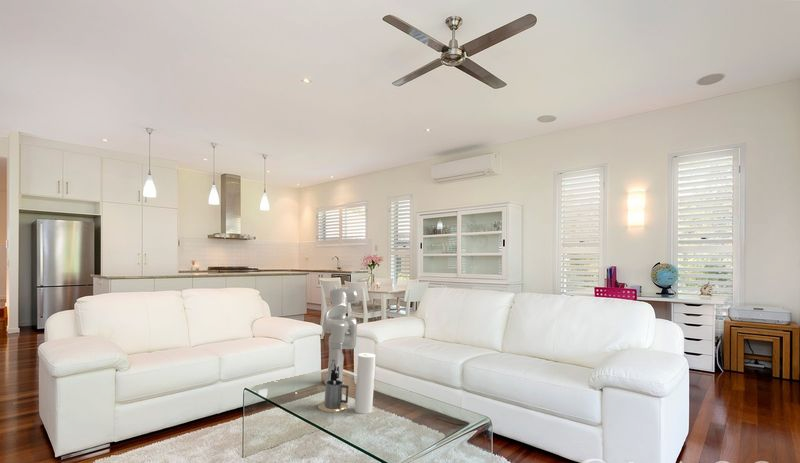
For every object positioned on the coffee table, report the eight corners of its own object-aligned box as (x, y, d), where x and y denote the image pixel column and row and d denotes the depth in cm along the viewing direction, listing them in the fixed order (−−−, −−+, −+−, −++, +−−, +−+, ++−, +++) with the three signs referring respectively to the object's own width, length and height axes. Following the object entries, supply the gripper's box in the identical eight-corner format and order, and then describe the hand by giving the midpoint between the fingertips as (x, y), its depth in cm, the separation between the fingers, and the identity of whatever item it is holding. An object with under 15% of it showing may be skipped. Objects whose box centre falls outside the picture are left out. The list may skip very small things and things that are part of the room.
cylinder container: (369, 414, 222) (373, 357, 223) (352, 412, 223) (356, 355, 225) (373, 408, 231) (377, 353, 232) (357, 406, 233) (361, 351, 234)
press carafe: (323, 400, 238) (324, 376, 239) (350, 403, 236) (352, 379, 237) (313, 410, 222) (315, 385, 223) (343, 413, 220) (344, 388, 221)
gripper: (334, 341, 240) (332, 374, 239) (325, 348, 223) (323, 383, 222) (347, 342, 239) (345, 375, 238) (339, 349, 222) (337, 384, 221)
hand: (334, 378), depth 230 cm, fingers closed on plunger, 3 cm apart
